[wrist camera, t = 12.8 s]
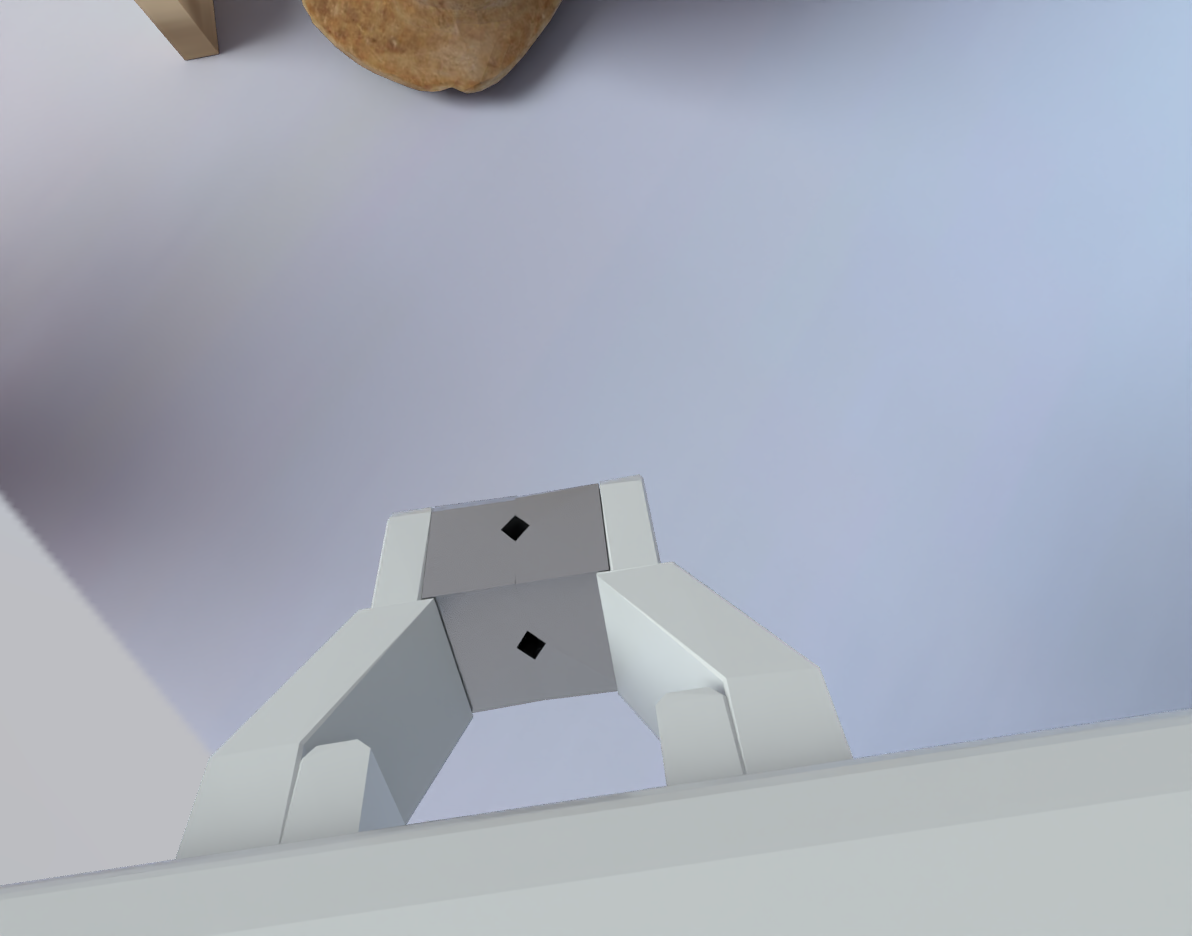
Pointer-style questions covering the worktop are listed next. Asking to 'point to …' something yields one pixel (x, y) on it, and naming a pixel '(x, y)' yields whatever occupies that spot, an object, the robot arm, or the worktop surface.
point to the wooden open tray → (185, 25)
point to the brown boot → (434, 37)
